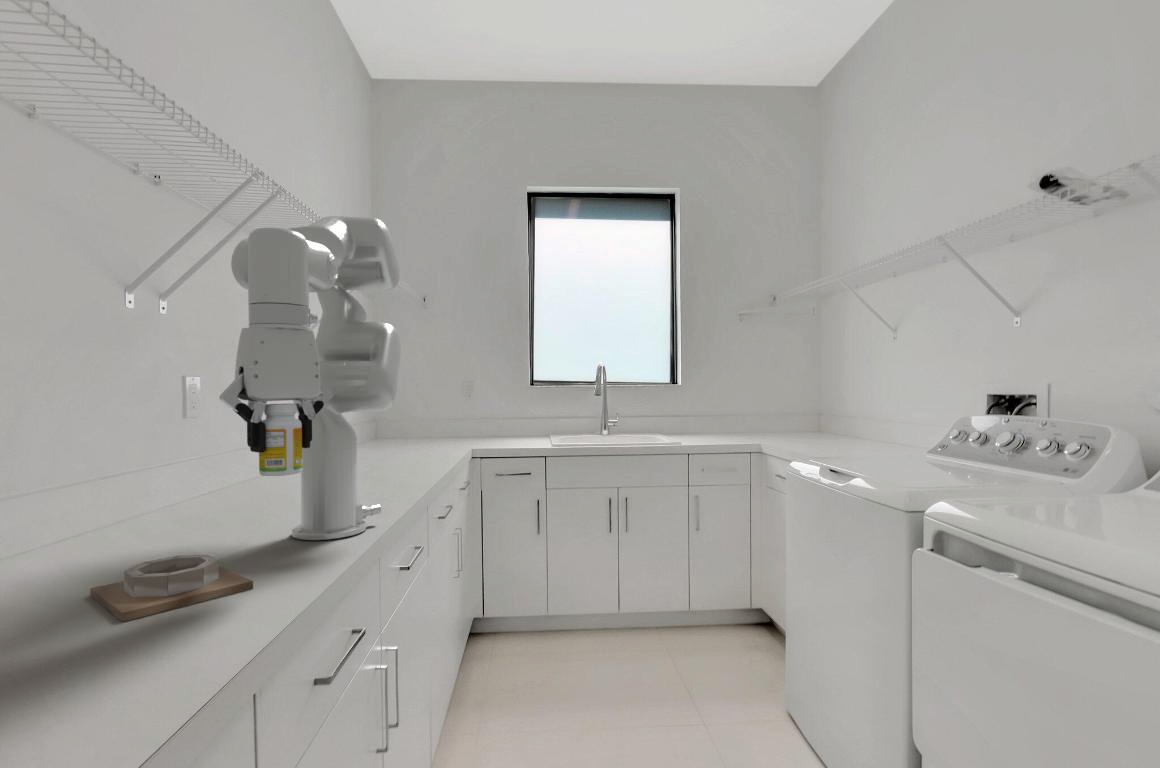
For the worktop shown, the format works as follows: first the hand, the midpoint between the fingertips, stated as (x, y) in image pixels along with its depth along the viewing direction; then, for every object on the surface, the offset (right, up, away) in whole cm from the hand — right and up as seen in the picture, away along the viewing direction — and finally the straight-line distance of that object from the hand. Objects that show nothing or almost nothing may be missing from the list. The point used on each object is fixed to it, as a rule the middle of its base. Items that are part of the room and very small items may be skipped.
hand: (280, 448), depth 82 cm
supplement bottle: (0, -4, 0) cm, 4 cm away
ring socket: (-11, -18, -5) cm, 22 cm away
